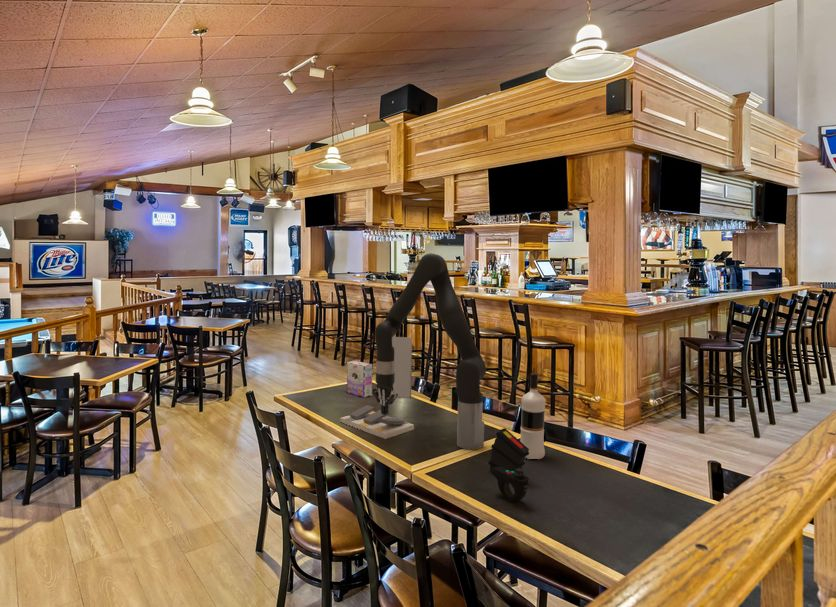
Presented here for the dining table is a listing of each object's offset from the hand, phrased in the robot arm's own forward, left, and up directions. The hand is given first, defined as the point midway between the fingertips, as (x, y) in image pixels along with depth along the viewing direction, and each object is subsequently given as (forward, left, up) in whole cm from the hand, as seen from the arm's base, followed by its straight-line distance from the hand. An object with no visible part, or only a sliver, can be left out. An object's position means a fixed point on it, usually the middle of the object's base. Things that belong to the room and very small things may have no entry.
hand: (384, 414), depth 207 cm
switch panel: (+9, -4, -8) cm, 12 cm away
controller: (-67, +12, -8) cm, 69 cm away
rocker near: (0, -4, -5) cm, 6 cm away
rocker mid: (+9, -4, -5) cm, 11 cm away
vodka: (-54, -22, -8) cm, 59 cm away
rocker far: (+18, -4, -5) cm, 19 cm away
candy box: (+52, -31, -8) cm, 61 cm away
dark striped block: (-58, -1, -8) cm, 59 cm away
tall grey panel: (+36, -42, -8) cm, 56 cm away
